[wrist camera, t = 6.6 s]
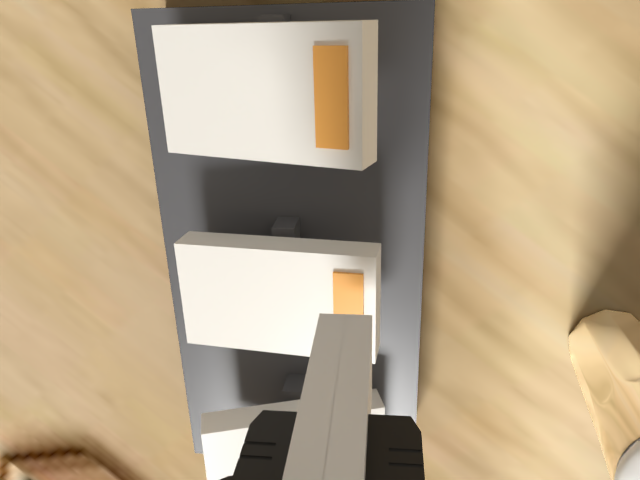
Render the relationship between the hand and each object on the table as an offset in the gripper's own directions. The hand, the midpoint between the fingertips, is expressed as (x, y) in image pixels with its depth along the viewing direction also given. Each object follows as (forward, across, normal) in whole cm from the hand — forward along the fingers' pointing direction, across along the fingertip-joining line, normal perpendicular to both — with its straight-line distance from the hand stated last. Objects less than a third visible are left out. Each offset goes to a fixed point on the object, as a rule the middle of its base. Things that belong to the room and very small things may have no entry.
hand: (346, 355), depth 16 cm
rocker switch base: (+9, -2, 0) cm, 9 cm away
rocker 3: (+4, -3, +7) cm, 8 cm away
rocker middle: (+4, -2, 0) cm, 5 cm away
